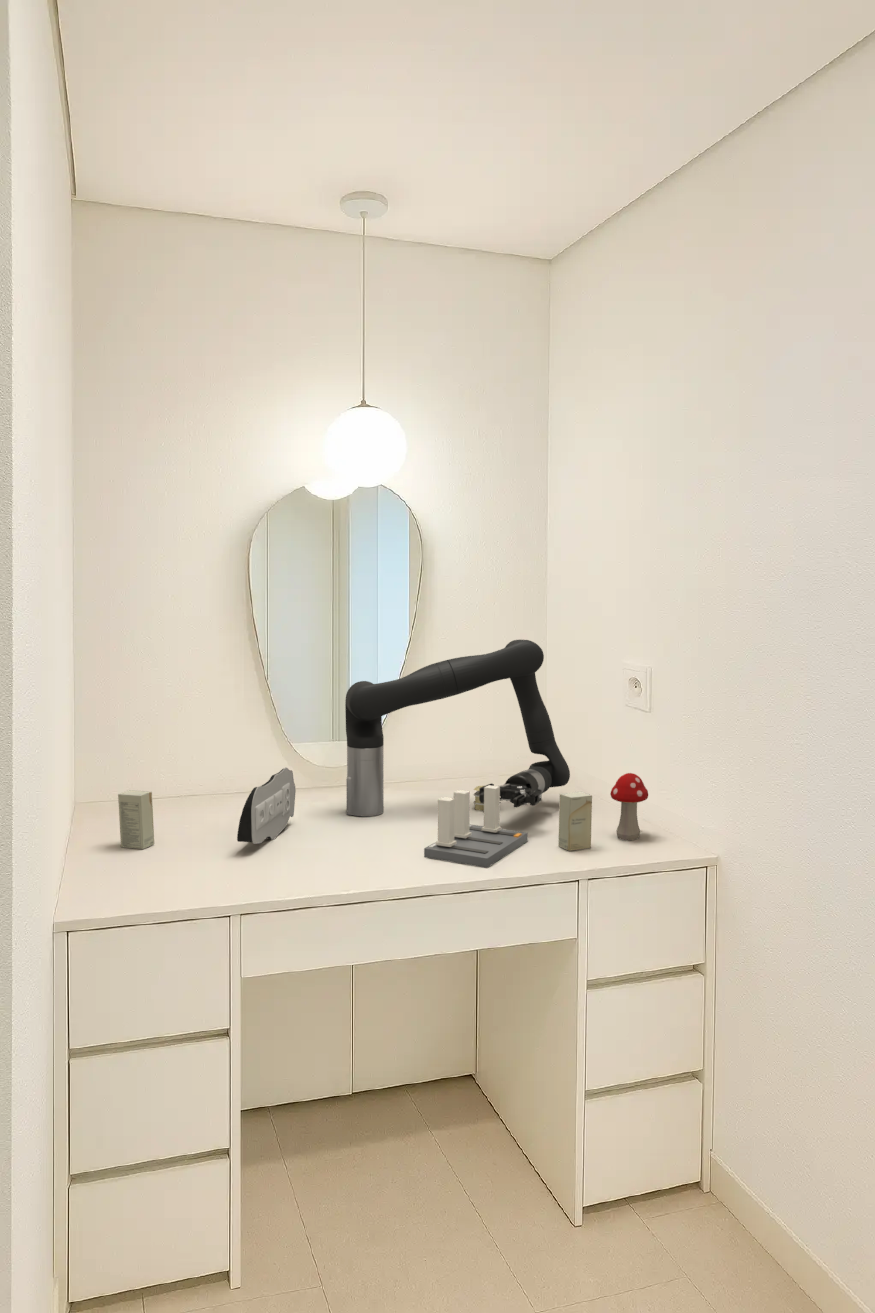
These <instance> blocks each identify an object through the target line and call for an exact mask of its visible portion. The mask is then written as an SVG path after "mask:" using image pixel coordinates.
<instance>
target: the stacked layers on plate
mask: <svg viewBox="0 0 875 1313" xmlns="http://www.w3.org/2000/svg"><path fill="white" fill-rule="evenodd" d="M483 786H484V785H477V786H476V787H474V788H473V790H474V791H475V792H474V793H473V796H474V798H475V799H474V801H473V804H474V810H475V811H484V803H480V801H479V792H480V788H481V787H483ZM500 804H502V803H501V801H500Z"/></svg>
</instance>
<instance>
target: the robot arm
mask: <svg viewBox="0 0 875 1313" xmlns="http://www.w3.org/2000/svg"><path fill="white" fill-rule="evenodd" d="M544 658H545V654H544V651H543V649H542V647H540V645H539V644H537V643H536V642H534V641H532V640H529V639H514V640H512V641H510V642H508V643H507V644H506V645H505V647H504V648H501V649H498V650H495V651H493V652H492V651H491V652H489V653H484V654H477V655H476V654H474V655H467V656H459V657H455V658H449V659H445V660H442V661H438V662H435V663H430V664H429V665H426V666H423V667H421V668H419V669H417V670H415V671H413V672H412V673H409V674H407V675H405V676H403V677H400V678H397V679H395V680H394V679H393V680H390V681H383V682H379V683H373V682H371V681H368V680H361V681H357V682H355V683H353V684H352V685H350V687H349V688H348V690H347V691H346V693H345V700H344V701H345V703H344V704H345V705H344V706H345V707H344V708H345V711H344V712H345V736H346V780H345V781H346V816H349V815H350V816H355V817H374V816H378V815H381V814H383V813H384V808H385V807H384V804H385V803H384V802H385V801H384V798H385V797H384V794H385V792H384V788H385V787H384V731H383V722H382V720H383V718H382V717H383V716H385V715H388V714H391V713H393V712H395V711H399V710H400V709H404V708H407V707H411V706H417V705H420V704H426V703H429V702H435V701H439V700H443V699H446V698H450V697H453V696H457V695H461V694H463V693H466V692H468V691H472V690H475V689H478V688H480V687H483V686H486V685H488V684H490V683H495V682H498V681H502V680H507V679H510V682H511V684H512V687H513V690H514V693H515V696H516V699H517V702H518V706H519V709H520V713H521V714H520V715H521V718H522V722H523V726H524V731H525V735H526V739H527V744H528V748H529V751H530V753H531V754H535V755H541V756H542V755H543V756H545V757H546V758H547V759H548V760H543V761H537V762H533V763H532V764H530V765H529V767H528V769H524V770H521V771H520V772H517V773H516V774H514V775H511V776H510V777H508V779H507V780H506V781H505V783H504V784H501V785H498V786H499V787H500V802H501V801H503V802H504V801H506V802H510V803H511V804H513V808H519V807H522V806H527V805H528V804H529V805H530V806H536V805H537V804H539V803H540V802H541V801H542V798H543V796H542V795H543V794H545V793H546V792H547V791H548V790H549V789H550V788H557V787H564V786H566V785H567V784H568V783H569V781H570V777H571V771H570V767H569V765H568V763H567V761H566V759H565V757H564V756H563V754H562V752H561V750H560V748H559V745H558V744H557V742H556V738H555V734H554V730H553V729H554V728H553V726H552V721H551V718H550V714H549V712H548V709H547V708H546V705H545V703H544V701H543V698H542V696H541V693H540V690H539V687H538V682H537V677H536V676H537V675H536V673H537V672H538V671H539V670H540V668H541V667H542V665H543V663H544ZM488 785H491V786H495V784H493V783H488V784H486V785H482V786H483V787H481V788H480V792H479V801H480V803H484V787H486V786H488Z"/></svg>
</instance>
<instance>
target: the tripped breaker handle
mask: <svg viewBox="0 0 875 1313" xmlns="http://www.w3.org/2000/svg"><path fill="white" fill-rule="evenodd" d="M487 785H488V784H487ZM485 786H486V785H485ZM499 786H500V785H494V786H491V785H488V786H486V787H484V810H483V826H484V827H482V831H489V832H498V831H500V830H501V829H502V826H500V816H501V815H500V808H501V806H500V805H501V803H500V802H501V801H500V787H499Z"/></svg>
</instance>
